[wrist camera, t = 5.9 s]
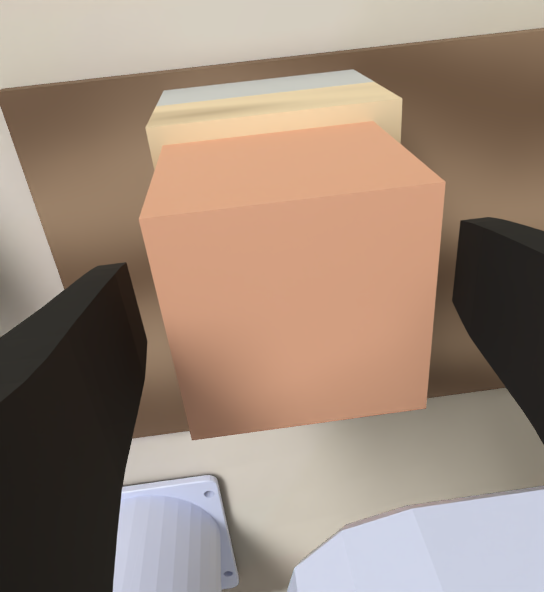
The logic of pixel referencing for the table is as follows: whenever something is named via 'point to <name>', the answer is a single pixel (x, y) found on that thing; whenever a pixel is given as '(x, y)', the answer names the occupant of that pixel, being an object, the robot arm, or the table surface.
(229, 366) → the block
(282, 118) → the slab top
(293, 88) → the slab bottom
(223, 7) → the table surface
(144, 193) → the board
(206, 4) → the table surface
